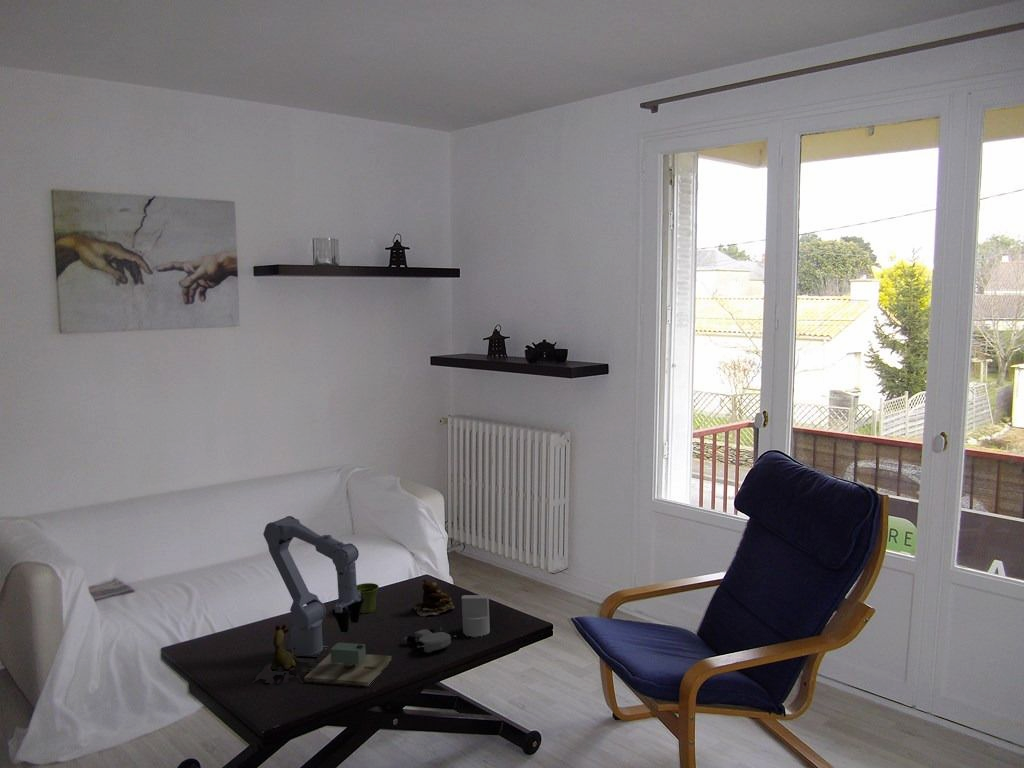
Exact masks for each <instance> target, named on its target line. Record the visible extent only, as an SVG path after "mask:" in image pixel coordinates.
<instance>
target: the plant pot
mask: <svg viewBox="0 0 1024 768" xmlns="http://www.w3.org/2000/svg"><path fill="white" fill-rule="evenodd" d="M379 588H380V587H379V585H378V584H377V583H374V582H366V583H365V582H364V583H360V584H357V590H360V592H361V596H360V597H359V598H363V599H364V602H363V604H362V606H361V610H360V614H366V613H368V614H370V612H371V613H373V612H374V610H375V611H376V604H377V594H378V591H379V590H378V589H379Z"/></svg>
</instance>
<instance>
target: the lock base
mask: <svg viewBox="0 0 1024 768" xmlns="http://www.w3.org/2000/svg"><path fill="white" fill-rule="evenodd" d="M390 661H391V662H392V655H384V654H383V655H381V654H369V653H368V654H367V653H366V657H365V659H364V660H363V661H362V662H361V663H360V664H349V663H336V662H331V652H329V654H327V655H326V657H324V658H323V659H322V660H321V661H320V662H319V663H317V664H318V665H317V666H316V667H315V668H314V669H311V670H312V671H310V672H309V673H308V674H305V676H304V680H303V681H305V680H313V681H324V682H334V683H345V684H353V685H364V686H369V684H370V683H371V682H372V681H373V680H374V679H375V678H376V677H377V676H378V677H379V675H380V674H382V672H383V671H384V670H385V669H386V667H387V666H388V665H389V664H390V663H391V662H390ZM389 662H390V663H389ZM384 668H385V669H384ZM383 669H384V670H383ZM382 670H383V671H382ZM381 671H382V672H381ZM378 677H377V678H378ZM377 678H376V679H377ZM376 679H375V680H376ZM375 680H374V681H375ZM374 681H373V682H374ZM373 682H372V683H373ZM372 683H371V684H372ZM371 684H370V685H371ZM369 687H370V686H369Z"/></svg>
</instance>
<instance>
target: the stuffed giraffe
mask: <svg viewBox="0 0 1024 768" xmlns="http://www.w3.org/2000/svg"><path fill="white" fill-rule="evenodd" d="M289 630H290V629H289V628H288V627H287V624H286V623H284V624H283V625H282V626H280V625H279V624H276V626H275V628H274V631H275V634H274V636H273V647H274V648H275V649H274V654H273V659H272V660H273V662H272V665H271V670H272V671H277V672H284V671H289V670H290V669H291V668H294V667H295V666H297V665H296V664H297V663H296V661H295V660H296V656H294V655H293V654H292V653H291V651H290V652H289V651H288V650H285V649H284V640H285V634H287V633H288V632H289ZM293 658H294V659H295V660H294V659H293ZM295 668H296V667H295Z"/></svg>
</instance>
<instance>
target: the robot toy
mask: <svg viewBox="0 0 1024 768" xmlns="http://www.w3.org/2000/svg"><path fill="white" fill-rule="evenodd" d="M456 637H457V635H456V634H455V635H451V634H450V633H447V632H444V631H439V632H436V631H435V629H433V628H430V629H427V628H426V629H425V628H423V629H421V630H418V631H416V632H414V635H408V636H405V637H403V640H404V641H406V642H407V643H414V642H415V643H416V647H417V648H418V649H419V650H421V651H423V652H424V653H427V654H429V653H432V652H434V651H437V650H442V649H445V648H446V647H448V646H450V644H451V643H452V640H453V639H452V638H456Z"/></svg>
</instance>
